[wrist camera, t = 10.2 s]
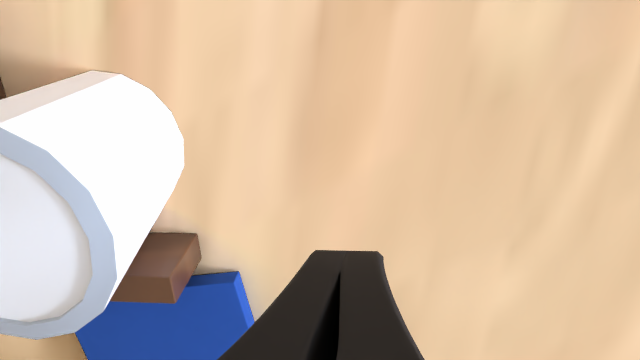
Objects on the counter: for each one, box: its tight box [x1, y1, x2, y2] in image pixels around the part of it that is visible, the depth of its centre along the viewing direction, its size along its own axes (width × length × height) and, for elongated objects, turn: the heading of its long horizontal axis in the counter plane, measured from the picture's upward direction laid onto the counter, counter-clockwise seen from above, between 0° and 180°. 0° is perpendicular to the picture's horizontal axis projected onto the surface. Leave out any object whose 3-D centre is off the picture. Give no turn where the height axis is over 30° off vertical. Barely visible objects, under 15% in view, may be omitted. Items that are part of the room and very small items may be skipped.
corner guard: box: [0, 79, 201, 304], centre depth 20 cm, size 8×11×3 cm
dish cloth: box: [75, 271, 255, 360], centre depth 25 cm, size 8×7×1 cm
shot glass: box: [0, 71, 184, 340], centre depth 18 cm, size 7×7×7 cm
